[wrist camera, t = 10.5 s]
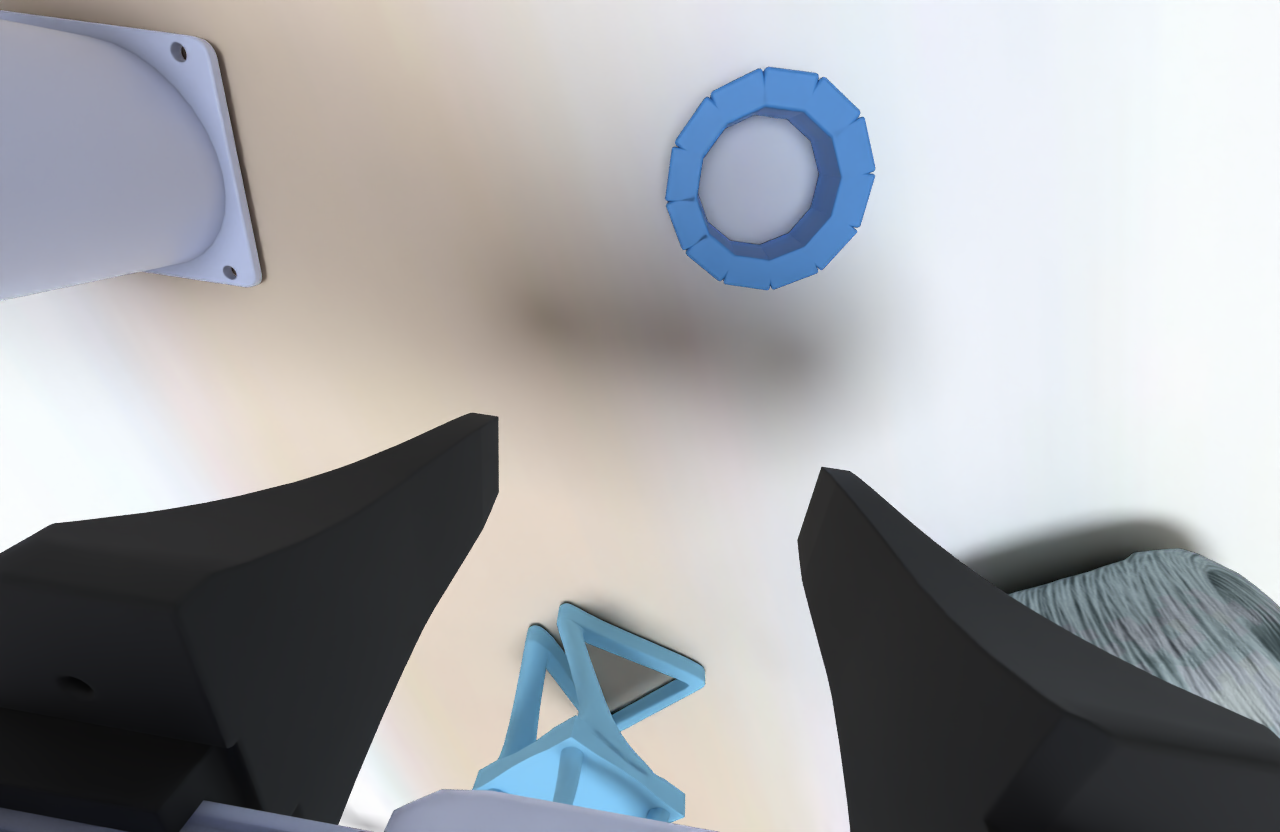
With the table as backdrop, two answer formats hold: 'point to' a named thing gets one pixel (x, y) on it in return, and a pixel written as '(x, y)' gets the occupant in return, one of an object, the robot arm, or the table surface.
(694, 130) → the tape
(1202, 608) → the spool
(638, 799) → the chair
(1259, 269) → the table surface
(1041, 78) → the table surface
